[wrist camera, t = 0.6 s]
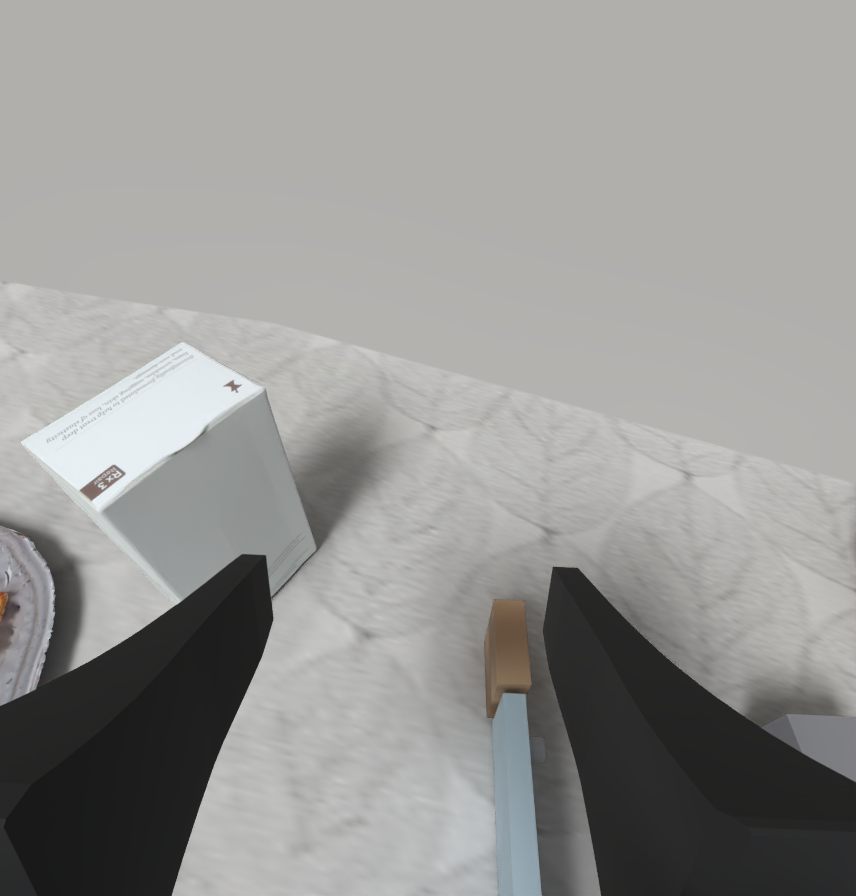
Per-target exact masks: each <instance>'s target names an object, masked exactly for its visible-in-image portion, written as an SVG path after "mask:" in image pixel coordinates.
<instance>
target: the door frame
mask: <svg viewBox="0 0 856 896" xmlns="http://www.w3.org/2000/svg"><path fill="white" fill-rule="evenodd" d="M484 643H485V676H486V708H487V717H488V718H494V716H495V714H496V711H497V708H498V705H499V703H500V700H501V697H502V695H503V693H514V694H526V696H527V694H528V691H529V689H530V687H531V685H532V684H531V673H530V662H529V651H528V639H527V628H526V617H525V605H524V601H523V600H500V599H494V601H493V606H492V610H491V615H490V619H489V624H488V628H487V633H486V637H485V642H484Z"/></svg>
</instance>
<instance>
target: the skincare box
mask: <svg viewBox="0 0 856 896" xmlns="http://www.w3.org/2000/svg"><path fill="white" fill-rule="evenodd" d="M21 444H22V445H23V446H24V447H25V448H26V450H27V451H28V452H29V453H30V454H31V455H32V457H33V458H34V459H35V460H36V461H37V462H38V463H39V464H40V465H41V466H42V467H43V468H44V469H45V471H46V472H47V473H48V474H49V475H50V476H51V477H52V478H53V479H54V480H55V481H56V482H57V483H58V484H59V486H60V487H61V488H62V489H63V490H64V491H65V492H66V493H67V494H68V496H69V497H70V498H71V499H72V500H73V501H74V502H75V503H76V504H77V505H78V506H79V507H81V508H82V509H83V510H84V511H85V512H86V513H87V514H88V515H89V517H90V518H91V519H92V520H93V521H94V522H95V523H96V524H97V525H98V526H99V527H100V528H101V529H102V530H103V531H104V532H105V533H106V534H107V536H108V537H109V538H110V539H111V540H112V541H113V542H114V543H115V544H116V545H117V546H118V547H119V548H120V549H121V550H122V551H123V552H124V553H125V554H126V556H127V557H128V558H129V559H130V560H131V561H132V562H133V563H134V564H135V565H136V566H137V567H138V568H139V569H140V570H141V571H142V572H143V573H144V574H145V575H146V576H147V578H148V579H149V580H150V581H151V582H152V583H153V584H154V585H155V586H156V587H157V588H158V589H159V591H160V592H161V593H162V594H163V595H164V596H166V597H167V598H168V599H169V600H170V601H171V602H172V603H174V604H175V605H177V604H178V603H180V602H181V601H182V600H184V599H185V598H186V597H187V596H189V595H190V594H191V593H193V592H194V591H195V590H196V589H198V588H199V587H200V586H202V585H203V584H204V583H206V582H207V581H208V580H209V579H211V578H212V577H213V576H214V575H216V574H217V573H218V572H219V571H221V570H222V569H223V568H224V567H226V566H227V565H228V564H229V563H231V562H232V561H233V560H235V559H236V558H237V557H239V556H240V555H241V554H254V555H266V559H267V568H268V576H269V585H270V594H271V597H272V596H273V595H274V594H275V593H276V592H277V591H278V590H279V589H280V587H281V586H282V585H283V584H284V583H285V582H286V581H287V580H288V579H289V578H290V577H291V576H292V575H293V574H294V573H295V571H296V570H297V569H298V568H299V567H300V566H301V565H302V564H303V563H304V562H305V561H306V560H307V559H308V558H309V557H310V556H311V555H312V554H313V553H314V552H315V551H316V549H317V547H316V544H315V541H314V538H313V535H312V532H311V529H310V526H309V523H308V520H307V517H306V514H305V511H304V508H303V505H302V502H301V499H300V496H299V493H298V490H297V487H296V484H295V480H294V477H293V475H292V472H291V468H290V465H289V462H288V459H287V456H286V453H285V450H284V447H283V444H282V441H281V438H280V435H279V432H278V428H277V425H276V422H275V419H274V416H273V413H272V410H271V407H270V403H269V400H268V397H267V392H266V388H265V387H264V386H262V385H260V384H258V383H256V382H254V381H252V380H250V379H249V378H247V377H245V376H243V375H241V374H240V373H238V372H236V371H234V370H232V369H230V368H229V367H227V366H225V365H223V364H221V363H219V362H217V361H215V360H213V359H212V358H210V357H208V356H207V355H205V354H203V353H202V352H200V351H198V350H197V349H195V348H193V347H192V346H190V345H188V344H186V343H184V342H182V343H180V344H178V345H177V346H175V347H173V348H172V349H170V350H169V351H167V352H165V353H164V354H162V355H161V356H159V357H157V358H156V359H154V360H153V361H151V362H150V363H148V364H146V365H145V366H143V367H142V368H140V369H139V370H137V371H135V372H134V373H132V374H131V375H129V376H127V377H126V378H124V379H123V380H121V381H119V382H118V383H116V384H115V385H113V386H111V387H110V388H108V389H107V390H105V391H103V392H102V393H100V394H98V395H97V396H95V397H94V398H92V399H90V400H89V401H87V402H85V403H84V404H82V405H81V406H79V407H77V408H76V409H74V410H73V411H71V412H69V413H68V414H66V415H64V416H63V417H61V418H59V419H58V420H56V421H54V422H53V423H51V424H50V425H48V426H46V427H45V428H43V429H41V430H39V431H38V432H36V433H34V434H33V435H31V436H29V437H28V438H26V439H24V440H23V441H22V442H21Z"/></svg>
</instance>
